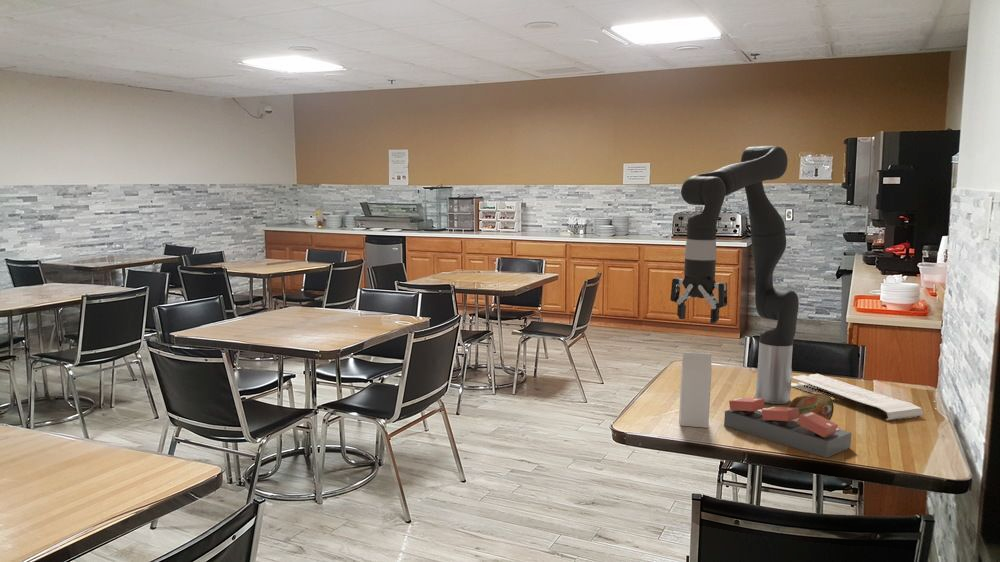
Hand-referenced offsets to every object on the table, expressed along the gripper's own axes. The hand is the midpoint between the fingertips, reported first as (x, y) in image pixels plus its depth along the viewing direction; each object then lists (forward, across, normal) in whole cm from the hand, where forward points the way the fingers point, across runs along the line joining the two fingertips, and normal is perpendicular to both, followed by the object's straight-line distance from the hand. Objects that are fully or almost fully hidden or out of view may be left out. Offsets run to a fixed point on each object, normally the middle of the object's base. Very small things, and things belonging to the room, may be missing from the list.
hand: (697, 321), depth 183 cm
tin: (+29, -21, -25) cm, 44 cm away
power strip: (+29, -19, -11) cm, 36 cm away
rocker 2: (+23, -19, -9) cm, 31 cm away
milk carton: (+29, +2, -5) cm, 29 cm away
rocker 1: (+23, -10, -11) cm, 27 cm away
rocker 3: (+23, -28, -7) cm, 37 cm away
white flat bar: (+30, -22, -58) cm, 69 cm away
